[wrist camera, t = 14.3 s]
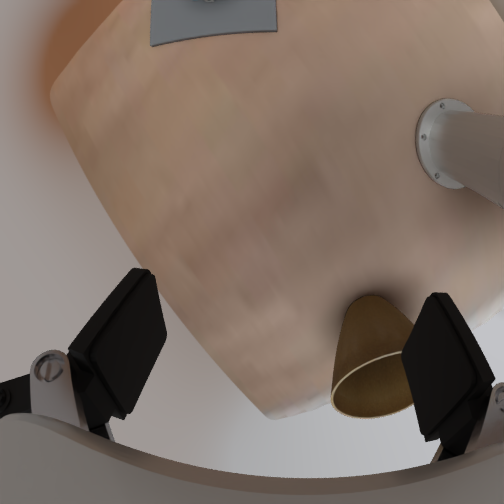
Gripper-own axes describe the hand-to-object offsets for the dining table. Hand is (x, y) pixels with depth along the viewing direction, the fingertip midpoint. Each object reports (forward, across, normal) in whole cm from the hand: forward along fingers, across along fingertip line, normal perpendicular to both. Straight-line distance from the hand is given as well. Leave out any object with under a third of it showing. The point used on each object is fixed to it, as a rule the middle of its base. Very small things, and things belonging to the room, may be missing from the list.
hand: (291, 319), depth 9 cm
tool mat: (+28, +10, -23) cm, 38 cm away
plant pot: (+28, -15, +22) cm, 38 cm away
